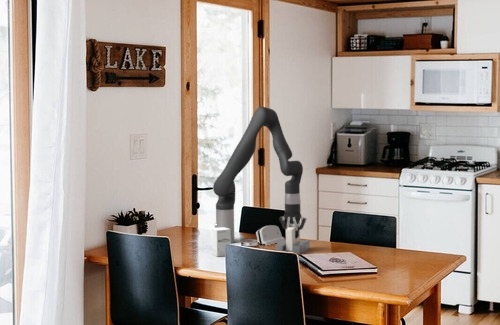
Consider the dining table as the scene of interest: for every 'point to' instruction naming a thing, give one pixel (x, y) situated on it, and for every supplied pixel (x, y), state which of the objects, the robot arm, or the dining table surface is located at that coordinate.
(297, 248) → the door track
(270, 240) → the hinge
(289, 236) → the door panel
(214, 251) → the supplement box
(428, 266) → the dining table surface
